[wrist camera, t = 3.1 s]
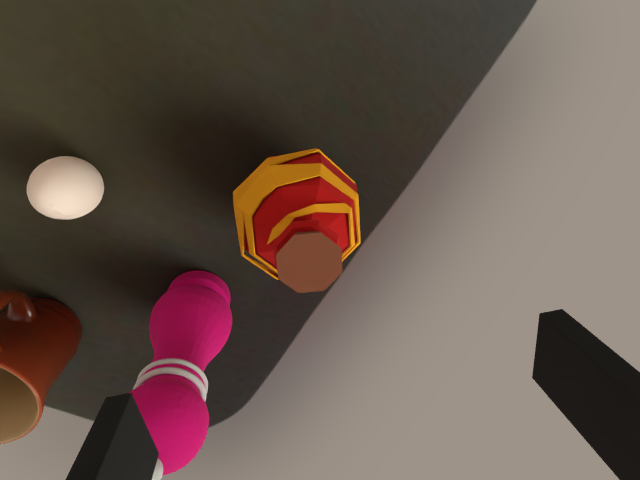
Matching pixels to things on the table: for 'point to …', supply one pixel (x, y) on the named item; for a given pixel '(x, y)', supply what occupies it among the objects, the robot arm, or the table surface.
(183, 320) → the pepper mill
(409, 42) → the table surface
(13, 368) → the mug
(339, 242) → the potion bottle
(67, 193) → the egg
